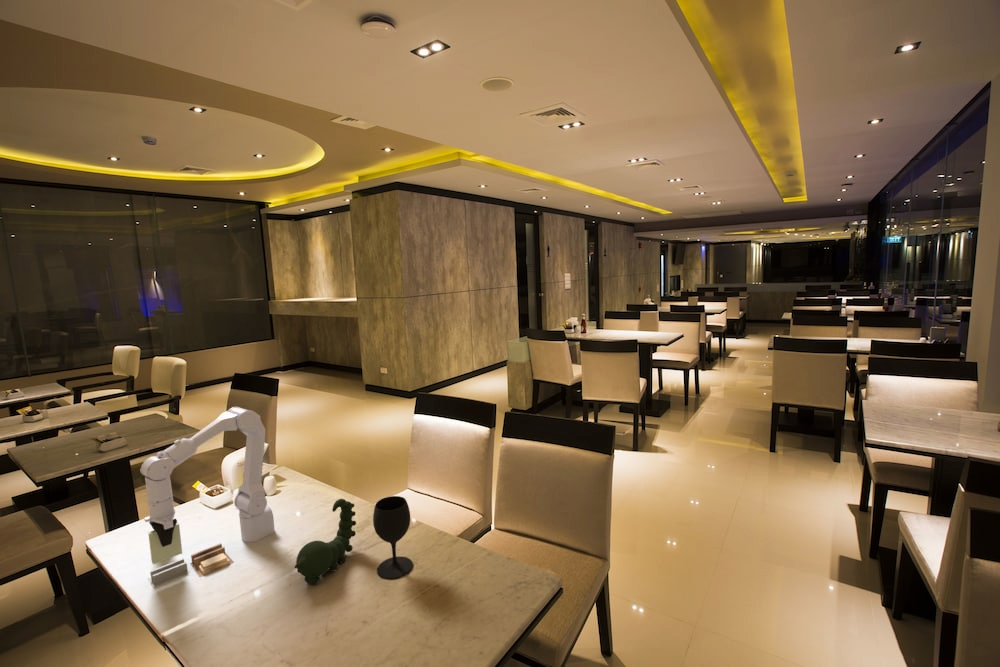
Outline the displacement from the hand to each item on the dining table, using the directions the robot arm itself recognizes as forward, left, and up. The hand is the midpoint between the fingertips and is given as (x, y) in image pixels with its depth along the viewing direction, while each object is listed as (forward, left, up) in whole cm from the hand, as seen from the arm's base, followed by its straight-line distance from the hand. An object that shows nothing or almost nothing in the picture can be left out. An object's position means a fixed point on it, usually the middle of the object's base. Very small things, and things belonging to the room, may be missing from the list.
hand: (165, 543), depth 132 cm
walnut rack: (-10, +3, -10) cm, 15 cm away
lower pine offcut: (-10, +5, -10) cm, 15 cm away
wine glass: (-45, +47, -11) cm, 66 cm away
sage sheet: (0, 0, -4) cm, 4 cm away
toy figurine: (-32, +32, -11) cm, 46 cm away
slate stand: (0, 0, -10) cm, 10 cm away
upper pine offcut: (-10, +5, -9) cm, 14 cm away
